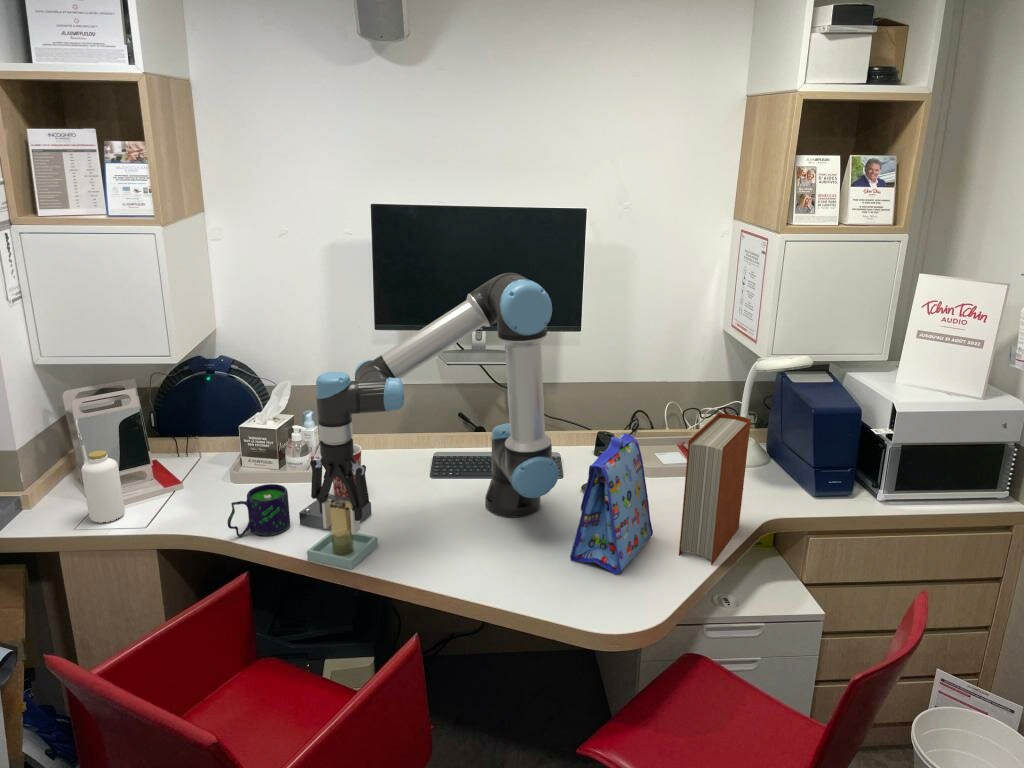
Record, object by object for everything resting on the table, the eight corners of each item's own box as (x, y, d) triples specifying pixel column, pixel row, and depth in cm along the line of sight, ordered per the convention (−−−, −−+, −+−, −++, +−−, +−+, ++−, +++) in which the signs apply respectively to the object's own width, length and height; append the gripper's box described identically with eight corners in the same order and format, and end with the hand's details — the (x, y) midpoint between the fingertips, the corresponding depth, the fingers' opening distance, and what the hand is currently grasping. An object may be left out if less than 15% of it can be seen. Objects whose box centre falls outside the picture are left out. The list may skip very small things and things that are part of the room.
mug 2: (359, 501, 212) (356, 456, 208) (326, 500, 213) (323, 454, 209) (370, 482, 224) (368, 439, 220) (340, 480, 225) (337, 437, 221)
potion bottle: (132, 513, 204) (122, 450, 198) (104, 527, 197) (94, 462, 191) (110, 507, 207) (100, 445, 202) (82, 520, 200) (71, 456, 194)
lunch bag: (605, 523, 201) (610, 420, 193) (654, 537, 195) (662, 430, 186) (567, 560, 184) (572, 448, 175) (620, 576, 177) (628, 460, 168)
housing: (371, 514, 205) (370, 500, 204) (347, 534, 194) (346, 519, 193) (326, 505, 210) (325, 491, 208) (300, 524, 199) (299, 510, 198)
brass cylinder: (357, 547, 187) (355, 499, 183) (346, 557, 183) (343, 508, 179) (339, 543, 189) (337, 496, 185) (328, 553, 184) (325, 504, 180)
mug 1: (285, 515, 204) (282, 480, 201) (294, 531, 196) (291, 495, 192) (225, 527, 197) (221, 492, 194) (231, 545, 189) (226, 508, 186)
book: (711, 565, 182) (723, 447, 173) (678, 555, 186) (688, 440, 177) (740, 526, 201) (752, 418, 192) (709, 518, 205) (719, 412, 196)
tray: (377, 545, 189) (377, 536, 189) (351, 569, 179) (351, 560, 178) (335, 536, 193) (335, 528, 192) (307, 559, 182) (306, 550, 182)
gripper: (382, 439, 177) (386, 529, 184) (309, 427, 184) (315, 514, 191) (365, 451, 170) (370, 543, 177) (289, 438, 177) (297, 528, 184)
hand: (341, 528), depth 184 cm, fingers open, 7 cm apart
